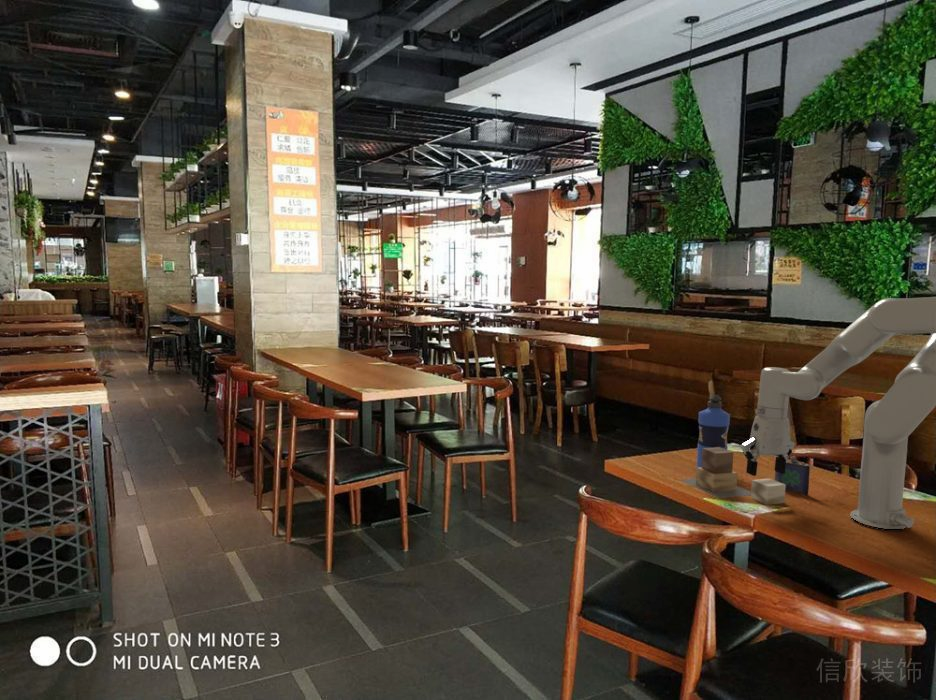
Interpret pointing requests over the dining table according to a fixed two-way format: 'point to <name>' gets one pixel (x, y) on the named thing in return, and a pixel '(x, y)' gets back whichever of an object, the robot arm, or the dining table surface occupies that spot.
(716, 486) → the base block
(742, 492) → the slate board
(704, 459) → the walnut cube
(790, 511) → the dining table surface
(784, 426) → the robot arm
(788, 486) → the flask
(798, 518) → the dining table surface
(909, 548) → the dining table surface
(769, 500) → the birch cube
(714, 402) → the water bottle
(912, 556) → the dining table surface
